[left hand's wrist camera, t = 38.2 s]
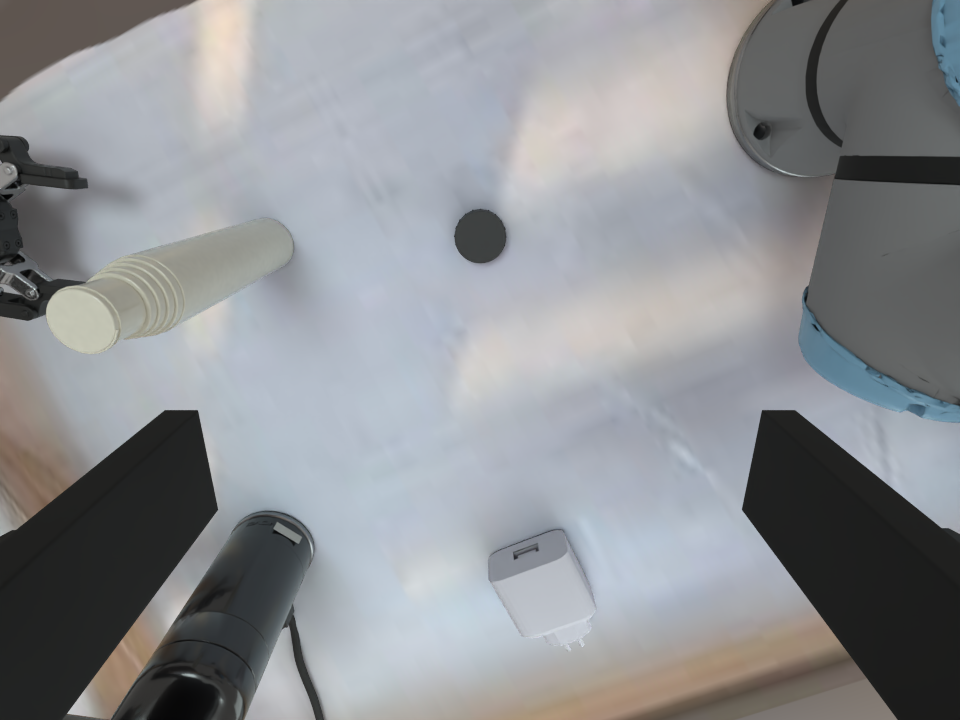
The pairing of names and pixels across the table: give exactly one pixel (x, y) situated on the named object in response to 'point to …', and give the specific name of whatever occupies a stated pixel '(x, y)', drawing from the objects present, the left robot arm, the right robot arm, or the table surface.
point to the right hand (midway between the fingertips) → (88, 238)
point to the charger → (544, 589)
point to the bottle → (166, 285)
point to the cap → (480, 236)
